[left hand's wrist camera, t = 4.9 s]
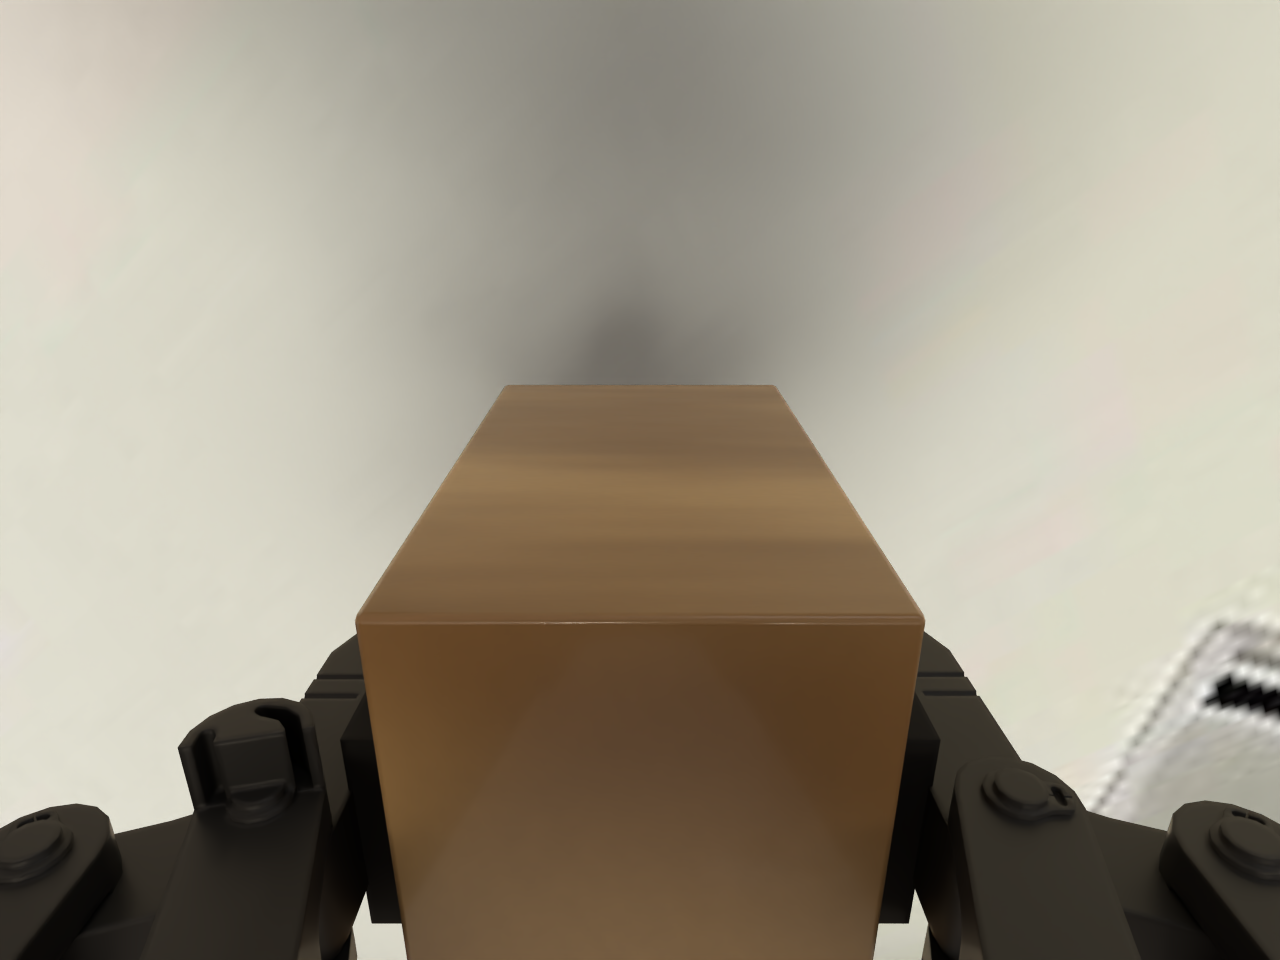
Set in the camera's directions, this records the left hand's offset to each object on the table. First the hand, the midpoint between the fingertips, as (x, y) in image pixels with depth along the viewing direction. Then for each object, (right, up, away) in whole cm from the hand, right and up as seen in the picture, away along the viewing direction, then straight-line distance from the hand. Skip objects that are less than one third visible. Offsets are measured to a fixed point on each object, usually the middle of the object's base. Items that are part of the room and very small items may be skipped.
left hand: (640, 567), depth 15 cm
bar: (0, -7, +3) cm, 8 cm away
